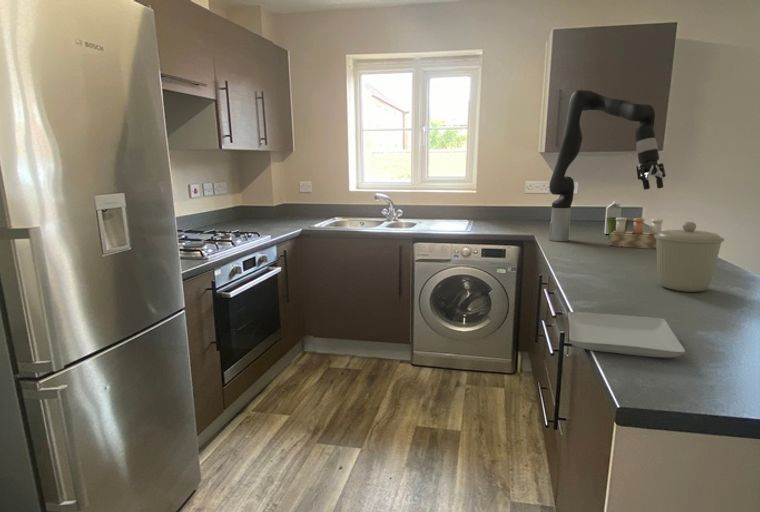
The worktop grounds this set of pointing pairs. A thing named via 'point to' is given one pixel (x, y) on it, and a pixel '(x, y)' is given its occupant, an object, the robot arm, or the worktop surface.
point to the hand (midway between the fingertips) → (653, 188)
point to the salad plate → (623, 334)
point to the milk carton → (612, 213)
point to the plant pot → (612, 224)
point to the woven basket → (633, 240)
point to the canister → (686, 258)
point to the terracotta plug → (638, 226)
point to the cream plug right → (656, 226)
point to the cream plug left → (620, 225)
